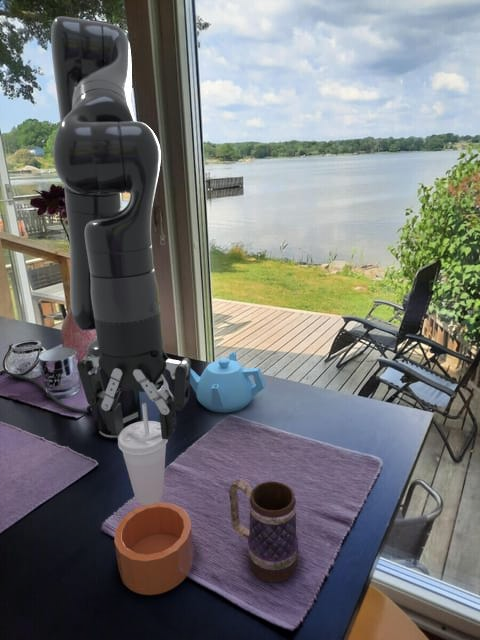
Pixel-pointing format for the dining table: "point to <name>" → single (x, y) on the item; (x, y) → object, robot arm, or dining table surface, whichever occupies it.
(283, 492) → the mug
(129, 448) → the smoothie
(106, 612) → the dining table surface
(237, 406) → the teapot
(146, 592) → the bottle stand
